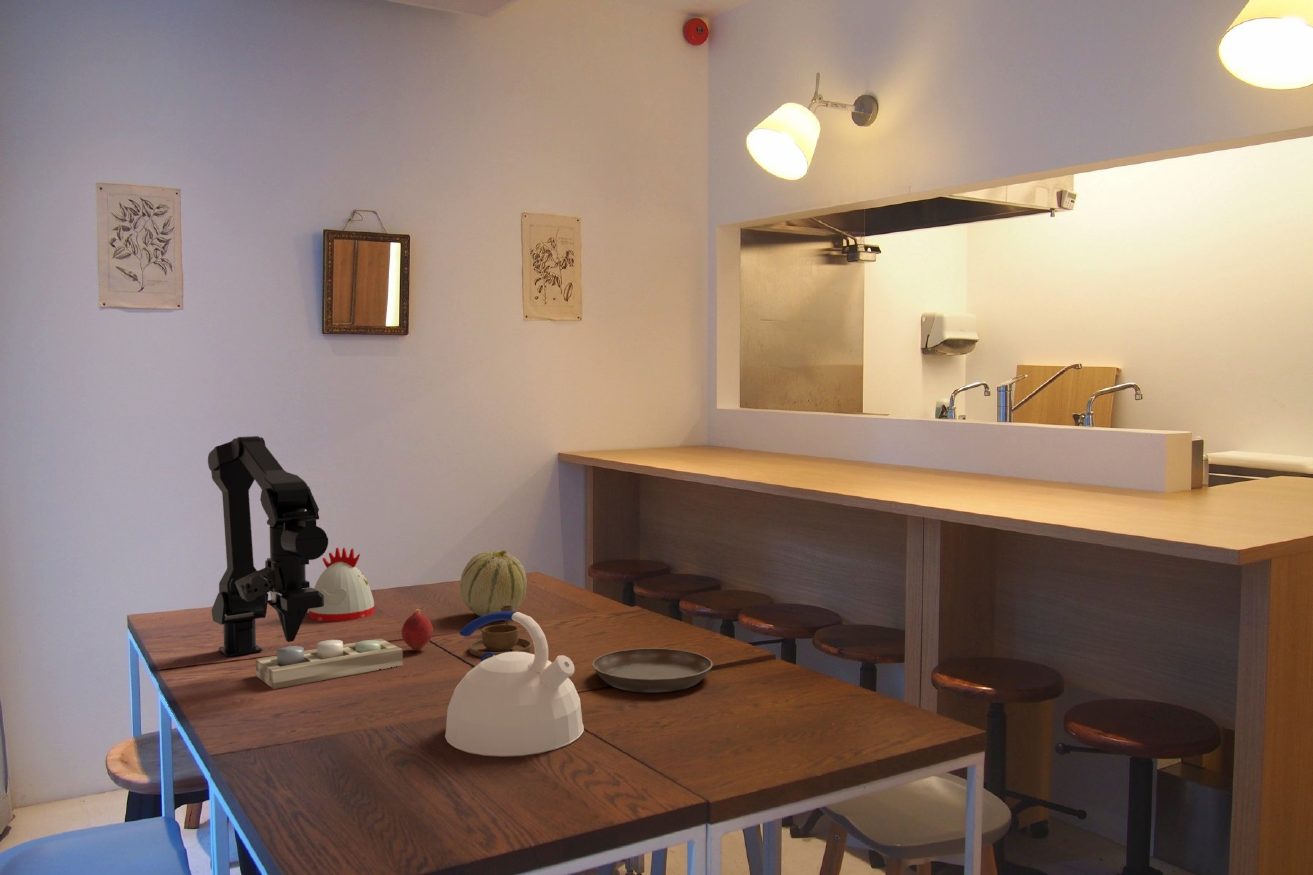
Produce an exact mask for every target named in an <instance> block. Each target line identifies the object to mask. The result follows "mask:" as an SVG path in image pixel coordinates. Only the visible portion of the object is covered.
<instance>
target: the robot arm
mask: <svg viewBox="0 0 1313 875" xmlns="http://www.w3.org/2000/svg"><path fill="white" fill-rule="evenodd" d="M207 464H208V468H209V470H210V472H211V478H212V481H213V483H215V485H216V486H217V488H218V489H219V490H220V491H221V494H222V508H223V511H222V512H223V524H224V526H223V527H224V540H225V552H226V553H225V556H226V570H225V572H224V573H223V576H222V577H221V579H220V581H219V583H218V593H217V596H216V597H215V599H214V600H215V601H214V603H213V605H212V608H211V616H212V621H213V622H214V623H217V624H219V625H223V626H222V627H223V628H222V629H223V646H220V647H218V651H219V652H220V653H222V654H223V655H224V656H225V657H233V656H240V655H246V654H253V653H259V652H262V651H263V648H262V647H260V646H259V645H258V644H257V637H256V635H257V634H256V619H266V615H267V612H268V610H267V609H268V605H269V606H271V607H272V608H273V609H274V610H275V611H276V613H277V615H278V619H279V622H280V625H281V628H282V631H283V632H282V633H283V635H284V639H285V641H286V642H287V643H291V642H294V641H295V639H296V636H297V634H298V633H299V630H300V628H301V625H302V624H303V621H304V620H305V617H306V615H307V613H308V612H309V609H311V608H318V607H323V606H324V595H323V594H322V593H320V592H319V591H318V590H316V589H314V588H313V587H310V586H311V585H310V584H311V583H310V581H308V580H307V578H306V574H307V573H306V571H307V570H306V565H310V561H314V560H317V559H319V558H321V557H322V556H323V555H324V554H325V553H326V551H327V549H328V545H329V537H328V536H327V533H326V532H325V530H324V529H323V528H322V527H319V526H317V520H320V516H319V511H320V508H319V506H318V504H317V501H316V500H315V498H314V494H313V493H312V491H311V488H310V486H308V484H307V482H306V481H305V480H304V479H302V477H300V476H299V475H297V474H294V473H290V472H289V471H286V470H285V469H284V468H283V466H282V465H281V464H280V463H279V462H278V460H277V459H276V458H275V456H274V455H273V454H272V452H271V451H270V450H269V448H268V447H267V446H266V441H265V439H264V438H263V437H262V436H258V435H254V436H253V435H252V436H237V438H233V439H231V441H228V442H225V443H222V444H220V445H216V446H214V448H213V449H212V450H211V451H210V452H208V455H207ZM254 482H256V484H257V485H258V486H259V487H260V489H261V491H260V492H261V493H260V499H259V500H260V502H261V503H260V504H261V506H262V509H263V510H264V513H265V514H266V516H267V518H268V519H267V520H266V525H269V553H270V555H269V557H268V558H266V560H265V561H264V562H265V563H264V564H265V565H264V566H265V567H263V568H261V569H259V570H258V569H256V567H255V564H254V550H253V548H254V547H253V536H252V534H253V533H252V519H251V505H250V488H251V487H252V485H253V484H254ZM269 594H270V599H269Z"/></svg>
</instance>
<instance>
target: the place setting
mask: <svg viewBox="0 0 1313 875" xmlns="http://www.w3.org/2000/svg"><path fill="white" fill-rule="evenodd" d="M503 611H513V606H501V612H503ZM480 639H481V640H480ZM480 639H477V640H475V641H473V642H471V643H470V644H469V645H468V650H469V653H470V654H471V655H472V656H475V657H479V658H481V657H482V655H483V654H485V653H486V652H487V651H482V650H477V649H478V648H481V647H480V646H482V647H484V648H486V649H488V650H489V652H492V653H494V654H495V656H496V655H499V654H502V653H506V652H526V653H529V652H530V651H531V649H532V645H533V644H532V643H533V642H531V641H530V640H528V639H527V638H522V637H519V627H518V626H517V625H512V624H510V620H504V624H492V625H491V624H490V625H487V626H483V628H482V629H481V637H480ZM483 645H484V646H483ZM516 645H517V646H522V645H524V646H523V648H521V649H517V650H512V649H513V648H514V647H516ZM510 650H511V651H510ZM532 654H534V655H535V650H534V651H533V653H532ZM490 657H491V656H490V655H486V657H485V659H488V658H490Z"/></svg>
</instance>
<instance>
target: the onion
mask: <svg viewBox="0 0 1313 875" xmlns="http://www.w3.org/2000/svg"><path fill="white" fill-rule="evenodd" d="M433 633H434V629H433V624H432V622H431V621H430V620H429V618H428V617H427V616H425V615H424V614H422V610H421V609H419V608H417V609H415V610H414V612H413V613H412V614H411V615H410V616H409V617H408V618H407V619H406V620H405V621H404V623H403V625H402V627H401V637H402V639H403V641H404V643H405V644H407V646H408V647H410V648H411V649H413V650H415V651H416V652H419V651H421V650H422V649H423V648H424V647H425V646H427V644H429V642H430V641H431V640H432V638H433Z"/></svg>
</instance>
